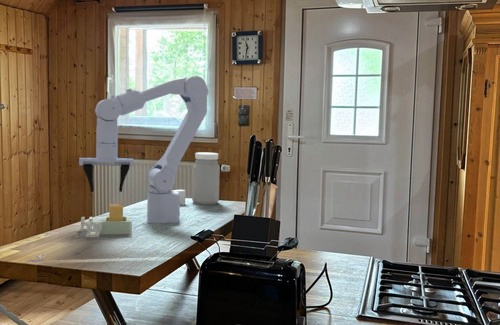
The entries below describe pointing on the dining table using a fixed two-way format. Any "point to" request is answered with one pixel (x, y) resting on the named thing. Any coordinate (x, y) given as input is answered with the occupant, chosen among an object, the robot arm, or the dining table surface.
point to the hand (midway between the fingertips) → (106, 191)
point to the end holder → (115, 226)
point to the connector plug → (116, 212)
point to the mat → (83, 234)
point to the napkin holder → (181, 195)
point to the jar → (206, 179)
